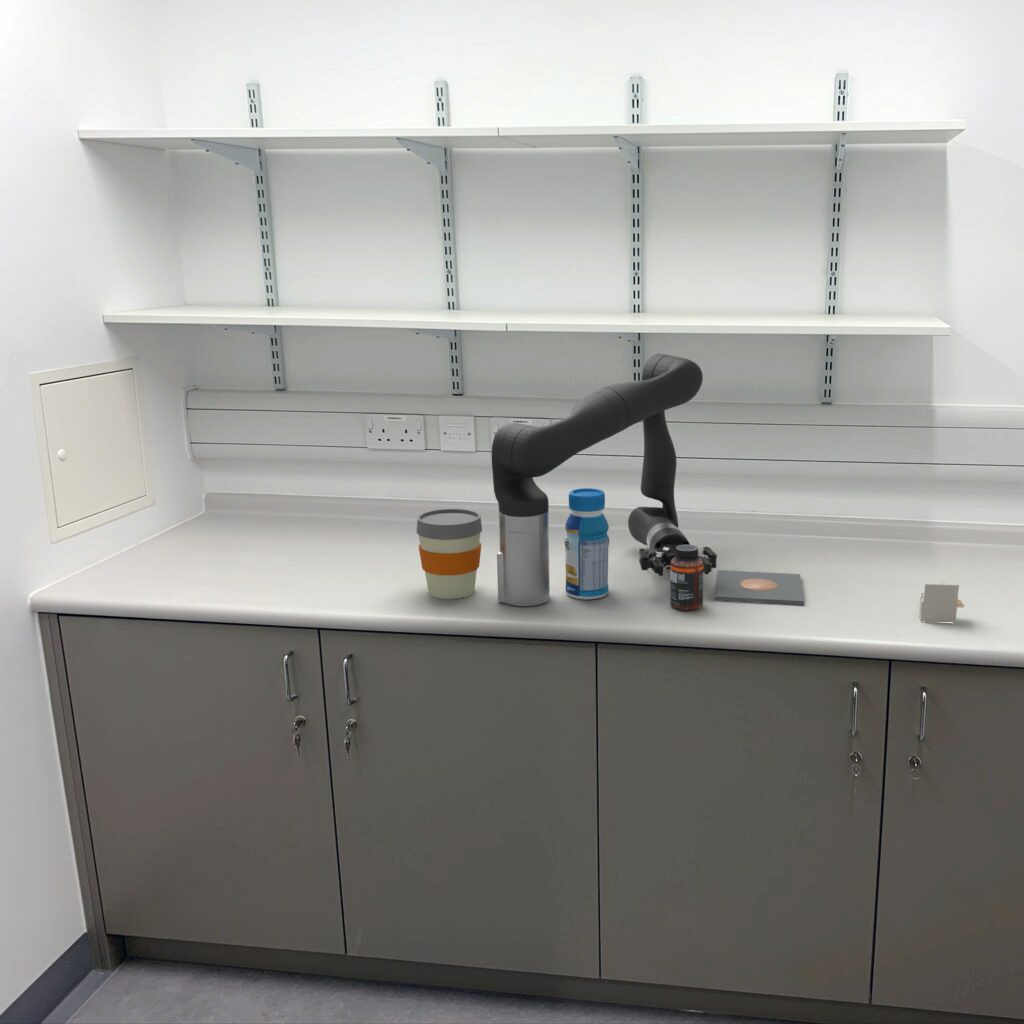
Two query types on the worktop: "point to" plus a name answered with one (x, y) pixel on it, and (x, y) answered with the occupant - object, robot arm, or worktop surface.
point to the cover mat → (759, 587)
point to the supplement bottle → (686, 579)
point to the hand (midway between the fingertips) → (684, 570)
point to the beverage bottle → (586, 545)
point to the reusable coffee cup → (450, 551)
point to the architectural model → (939, 603)
